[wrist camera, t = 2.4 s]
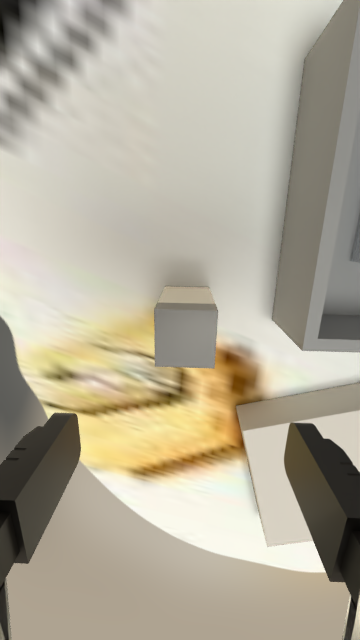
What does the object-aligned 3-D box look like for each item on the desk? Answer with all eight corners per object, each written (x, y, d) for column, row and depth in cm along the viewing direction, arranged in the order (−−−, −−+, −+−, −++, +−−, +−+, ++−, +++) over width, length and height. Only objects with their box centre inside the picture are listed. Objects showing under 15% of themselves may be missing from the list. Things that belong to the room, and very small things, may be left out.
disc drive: (433, 484, 35) (472, 524, 30) (258, 510, 37) (268, 551, 32) (437, 363, 30) (484, 387, 25) (234, 401, 32) (242, 430, 27)
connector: (165, 286, 28) (154, 309, 19) (209, 287, 28) (218, 310, 19) (165, 327, 29) (154, 366, 21) (206, 328, 29) (214, 368, 20)
